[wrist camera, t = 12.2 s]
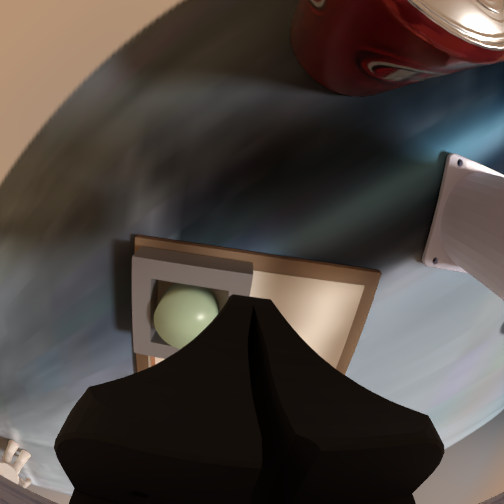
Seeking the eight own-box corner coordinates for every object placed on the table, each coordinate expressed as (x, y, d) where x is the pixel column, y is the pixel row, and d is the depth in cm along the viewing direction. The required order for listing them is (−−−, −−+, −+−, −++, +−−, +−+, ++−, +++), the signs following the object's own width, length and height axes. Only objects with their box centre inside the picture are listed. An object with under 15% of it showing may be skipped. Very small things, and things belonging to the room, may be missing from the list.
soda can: (262, 33, 15) (279, -94, 4) (346, -21, 14) (424, -128, 2) (345, 121, 17) (472, 105, 6) (420, 61, 16) (556, 21, 4)
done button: (223, 285, 19) (220, 301, 18) (216, 336, 21) (213, 354, 19) (162, 276, 19) (154, 290, 17) (161, 327, 21) (153, 344, 19)
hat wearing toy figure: (46, 465, 31) (20, 523, 20) (37, 467, 32) (13, 521, 20) (0, 425, 29) (-34, 481, 17) (-6, 430, 29) (-38, 482, 18)
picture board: (378, 270, 20) (382, 274, 20) (312, 439, 26) (312, 445, 26) (137, 234, 19) (134, 237, 19) (143, 420, 25) (141, 425, 25)
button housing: (253, 262, 19) (253, 274, 18) (237, 353, 22) (236, 370, 20) (141, 246, 19) (132, 256, 17) (141, 337, 21) (133, 352, 20)
